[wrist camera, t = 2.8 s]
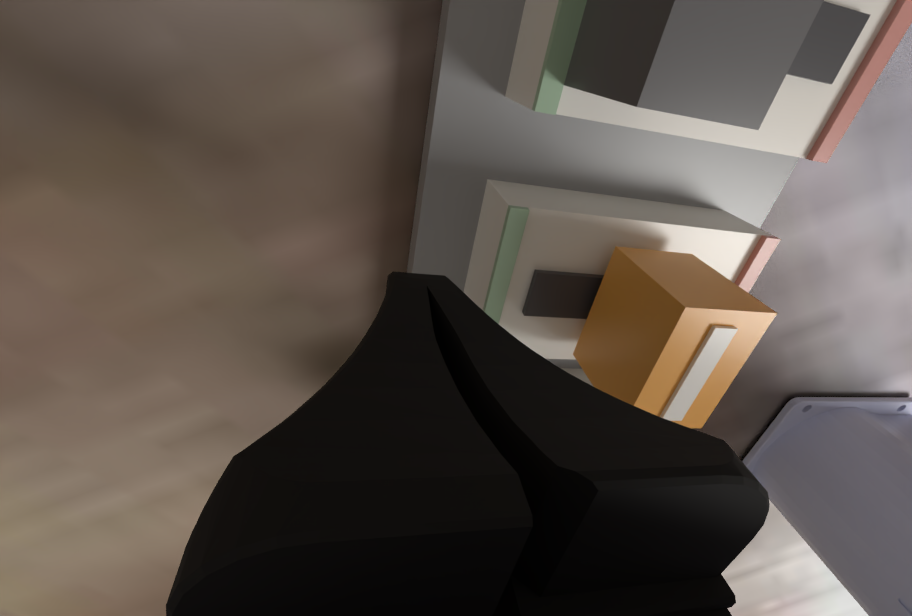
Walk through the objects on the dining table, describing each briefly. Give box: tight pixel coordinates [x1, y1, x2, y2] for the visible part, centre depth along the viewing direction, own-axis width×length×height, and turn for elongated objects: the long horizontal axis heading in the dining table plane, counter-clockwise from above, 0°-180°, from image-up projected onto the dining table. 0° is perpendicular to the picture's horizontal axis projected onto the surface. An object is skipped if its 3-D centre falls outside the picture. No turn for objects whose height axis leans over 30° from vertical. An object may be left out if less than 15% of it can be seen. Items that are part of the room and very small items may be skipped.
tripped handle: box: [573, 246, 777, 428], centre depth 11 cm, size 2×4×3 cm, turn 170°
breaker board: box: [407, 0, 912, 387], centre depth 15 cm, size 12×26×7 cm, turn 170°
